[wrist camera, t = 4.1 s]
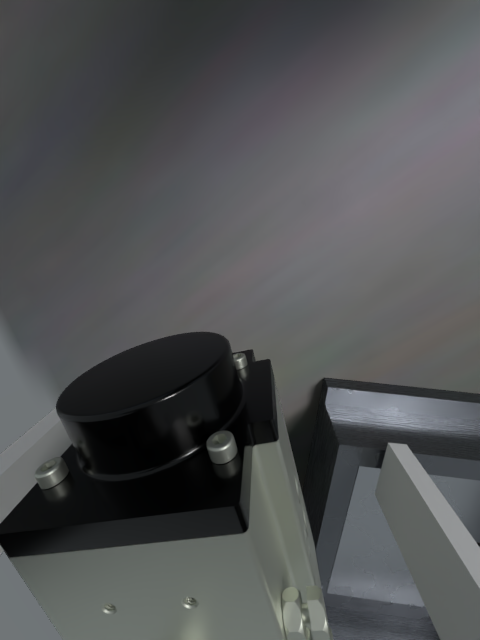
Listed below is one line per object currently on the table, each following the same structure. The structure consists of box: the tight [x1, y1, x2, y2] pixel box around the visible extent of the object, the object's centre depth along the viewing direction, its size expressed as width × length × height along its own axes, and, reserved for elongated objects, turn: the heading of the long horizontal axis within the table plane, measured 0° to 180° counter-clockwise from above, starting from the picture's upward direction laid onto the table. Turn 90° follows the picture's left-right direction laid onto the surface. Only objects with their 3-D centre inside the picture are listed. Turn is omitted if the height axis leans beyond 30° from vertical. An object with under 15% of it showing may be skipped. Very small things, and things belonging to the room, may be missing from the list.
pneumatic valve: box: [0, 332, 334, 640], centre depth 11 cm, size 6×12×12 cm, turn 14°
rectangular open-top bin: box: [302, 378, 480, 640], centre depth 16 cm, size 19×13×4 cm
